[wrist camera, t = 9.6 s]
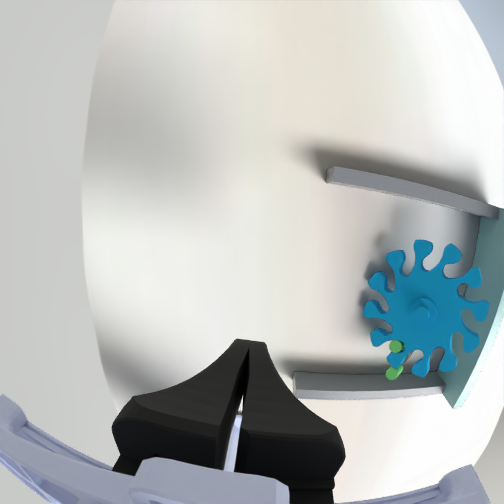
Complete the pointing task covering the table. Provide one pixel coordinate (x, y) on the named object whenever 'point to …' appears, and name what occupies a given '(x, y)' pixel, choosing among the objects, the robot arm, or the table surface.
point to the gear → (424, 310)
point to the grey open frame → (492, 290)
